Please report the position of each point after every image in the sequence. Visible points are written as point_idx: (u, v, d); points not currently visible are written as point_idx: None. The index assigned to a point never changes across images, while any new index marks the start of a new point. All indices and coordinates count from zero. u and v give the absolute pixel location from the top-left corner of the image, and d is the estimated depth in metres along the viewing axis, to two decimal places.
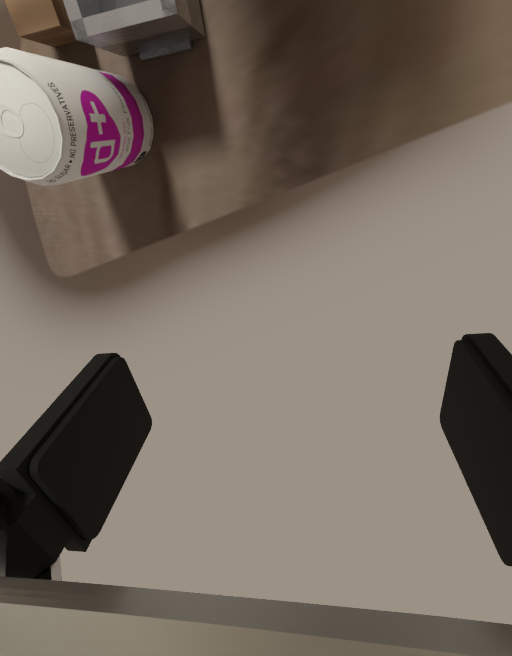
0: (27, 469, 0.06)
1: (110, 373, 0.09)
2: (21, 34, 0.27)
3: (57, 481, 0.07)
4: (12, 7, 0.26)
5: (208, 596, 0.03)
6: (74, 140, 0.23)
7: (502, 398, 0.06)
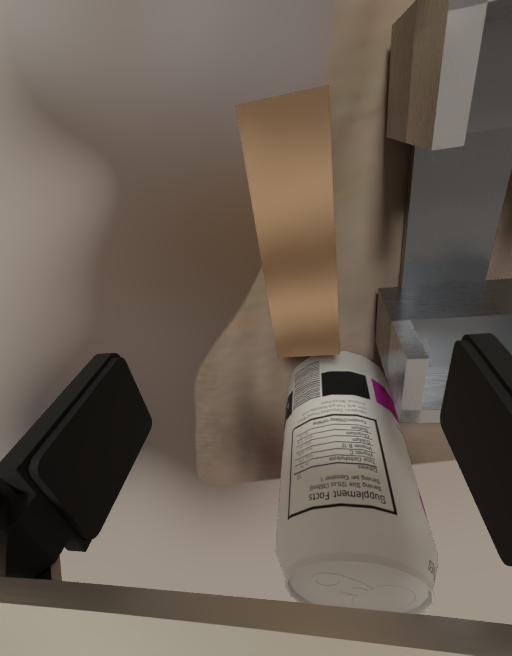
0: (27, 469, 0.06)
1: (110, 373, 0.09)
2: (281, 355, 0.21)
3: (57, 481, 0.07)
4: (281, 335, 0.21)
5: (208, 596, 0.03)
6: None
7: (502, 398, 0.06)
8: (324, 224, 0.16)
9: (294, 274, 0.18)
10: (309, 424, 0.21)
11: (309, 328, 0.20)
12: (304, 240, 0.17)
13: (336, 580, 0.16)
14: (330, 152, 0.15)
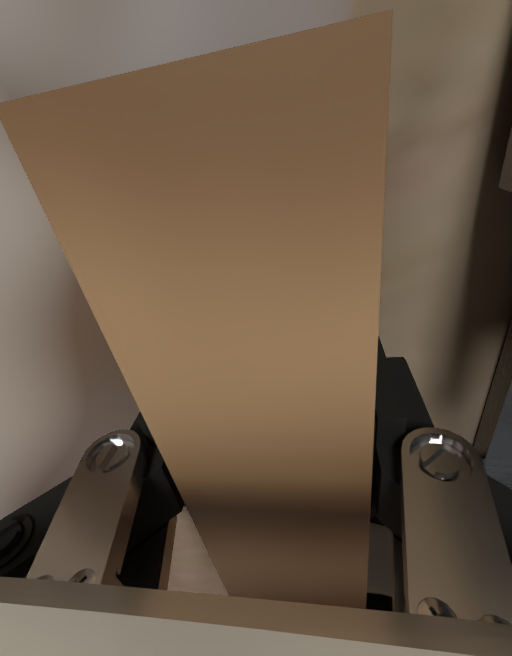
0: None
1: None
2: None
3: None
4: (242, 593, 0.10)
5: (208, 596, 0.03)
6: None
7: None
8: (342, 450, 0.06)
9: (264, 523, 0.07)
10: None
11: (300, 593, 0.09)
12: (287, 475, 0.06)
13: None
14: (376, 284, 0.04)
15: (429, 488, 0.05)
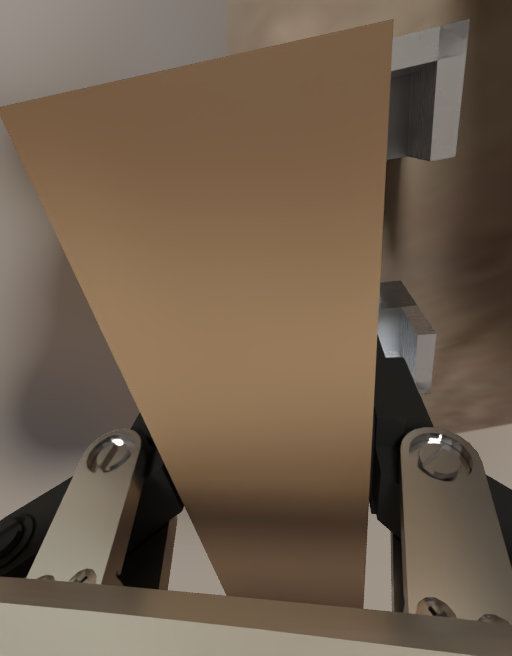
0: None
1: None
2: None
3: None
4: (239, 593, 0.10)
5: (208, 596, 0.03)
6: None
7: None
8: (341, 452, 0.06)
9: (263, 523, 0.07)
10: None
11: (298, 593, 0.09)
12: (286, 476, 0.06)
13: None
14: (376, 288, 0.04)
15: (428, 488, 0.05)
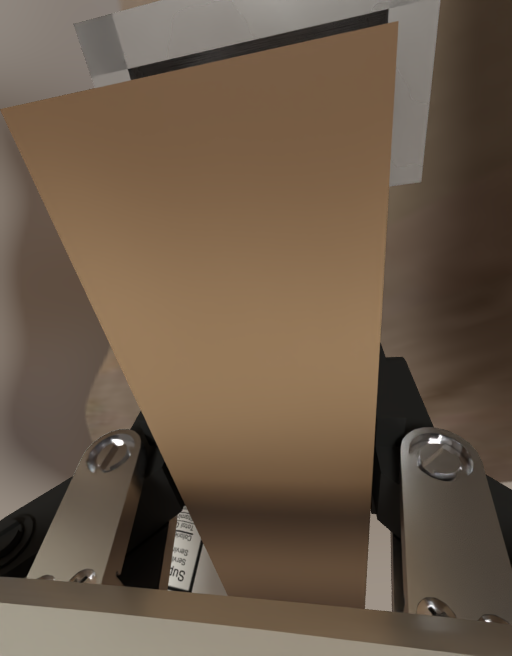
0: None
1: None
2: None
3: None
4: (241, 594, 0.10)
5: (208, 596, 0.03)
6: None
7: None
8: (343, 453, 0.06)
9: (264, 524, 0.07)
10: None
11: (299, 594, 0.09)
12: (288, 477, 0.06)
13: None
14: (379, 289, 0.04)
15: (428, 488, 0.05)
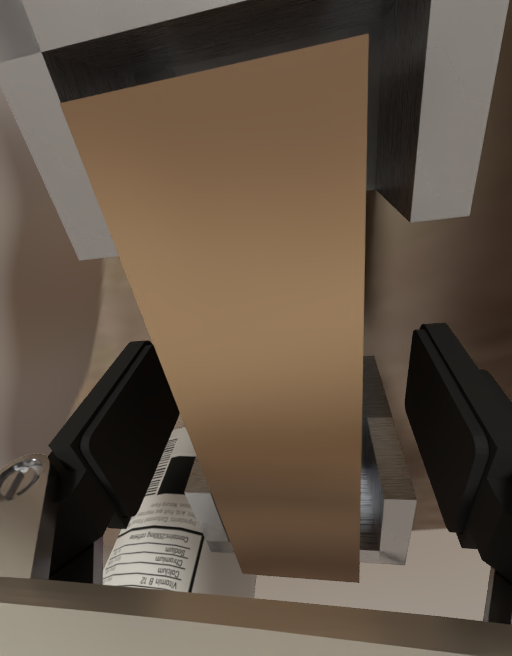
0: (79, 445, 0.07)
1: (145, 359, 0.09)
2: (249, 571, 0.12)
3: (104, 458, 0.07)
4: (246, 550, 0.11)
5: (208, 596, 0.03)
6: None
7: (445, 380, 0.07)
8: (336, 400, 0.07)
9: (268, 475, 0.08)
10: (127, 536, 0.17)
11: (300, 547, 0.10)
12: (288, 426, 0.07)
13: None
14: (361, 248, 0.05)
15: None
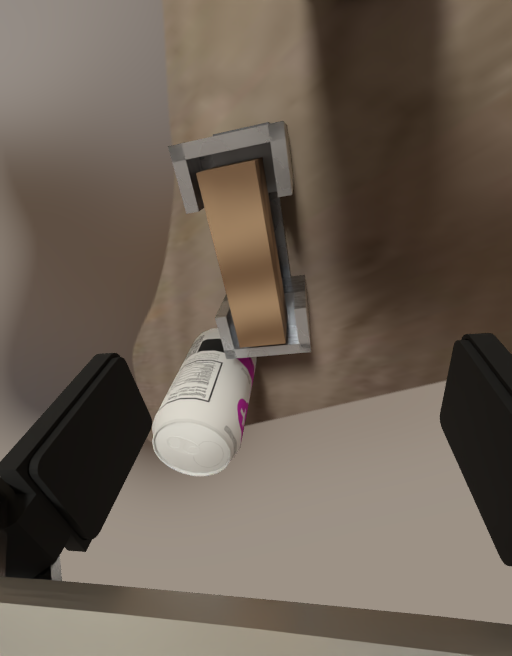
0: (27, 469, 0.06)
1: (110, 373, 0.09)
2: (242, 346, 0.28)
3: (57, 481, 0.07)
4: (240, 330, 0.27)
5: (208, 596, 0.03)
6: (235, 452, 0.29)
7: (502, 398, 0.06)
8: (262, 248, 0.24)
9: (245, 283, 0.25)
10: (184, 367, 0.33)
11: (260, 323, 0.27)
12: (250, 259, 0.24)
13: (179, 442, 0.28)
14: (260, 201, 0.22)
15: None
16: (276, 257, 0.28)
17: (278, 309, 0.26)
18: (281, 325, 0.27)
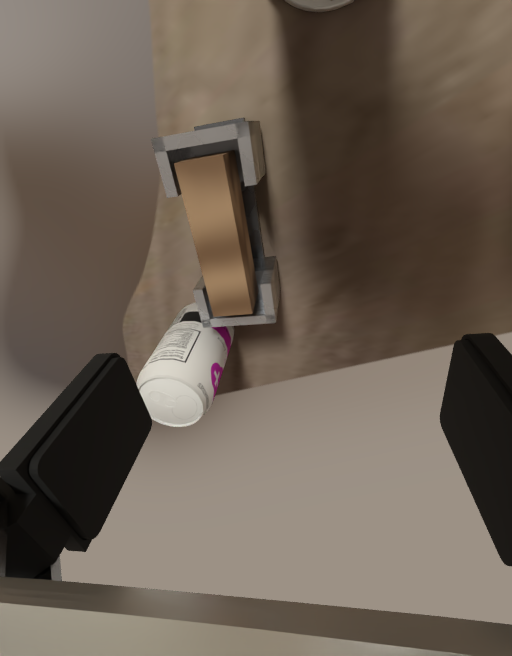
0: (27, 469, 0.06)
1: (110, 373, 0.09)
2: (215, 315, 0.33)
3: (57, 481, 0.07)
4: (214, 301, 0.32)
5: (208, 596, 0.03)
6: (207, 407, 0.34)
7: (502, 398, 0.06)
8: (230, 229, 0.28)
9: (217, 260, 0.29)
10: (166, 335, 0.38)
11: (230, 296, 0.31)
12: (220, 239, 0.28)
13: (159, 396, 0.33)
14: (228, 189, 0.26)
15: None
16: (246, 238, 0.32)
17: (245, 283, 0.30)
18: (248, 297, 0.31)
